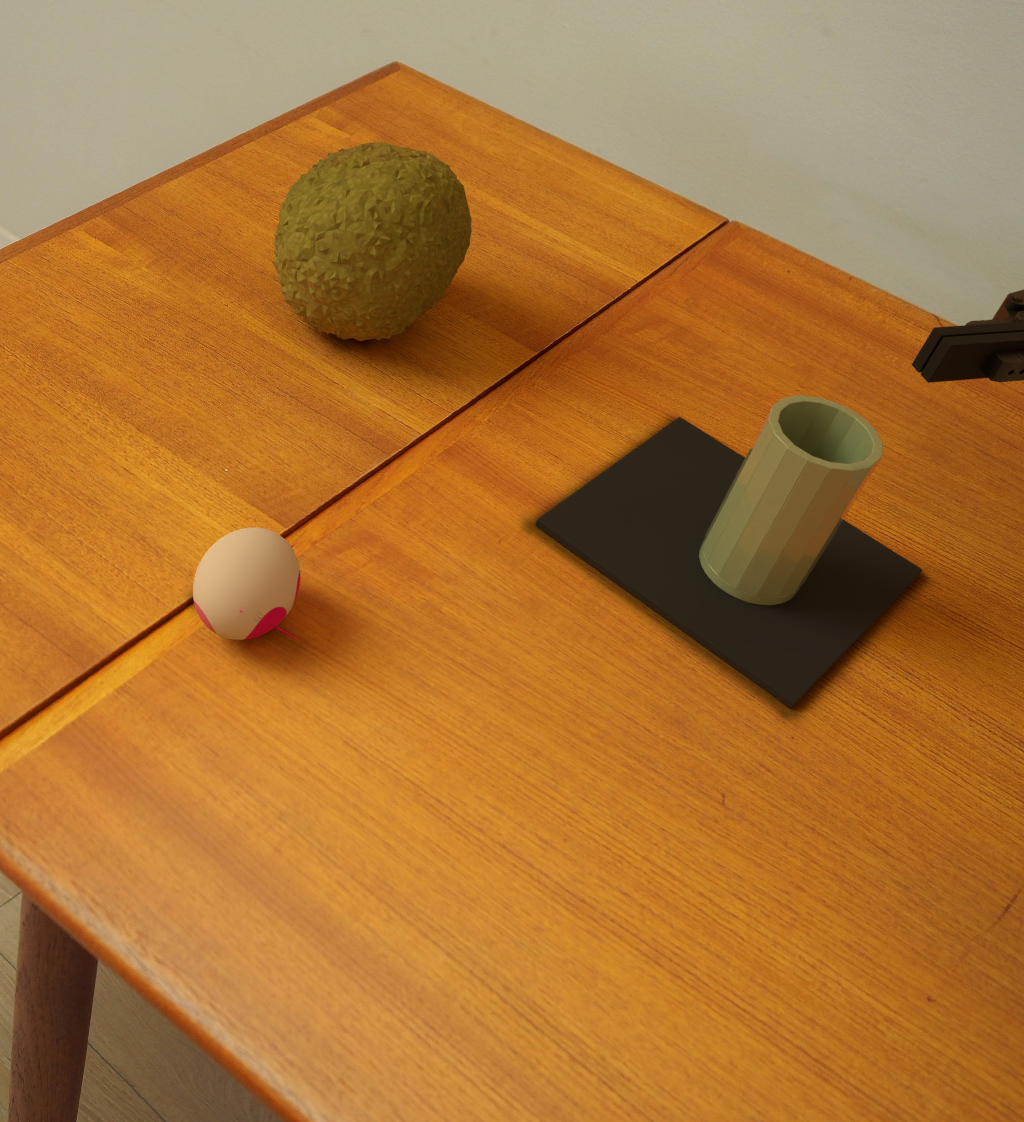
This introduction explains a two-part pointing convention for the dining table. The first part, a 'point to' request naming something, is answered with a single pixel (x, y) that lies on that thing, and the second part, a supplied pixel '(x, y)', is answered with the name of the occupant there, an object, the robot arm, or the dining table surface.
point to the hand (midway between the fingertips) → (931, 355)
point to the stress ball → (246, 583)
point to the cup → (789, 498)
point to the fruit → (371, 240)
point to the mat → (684, 588)
